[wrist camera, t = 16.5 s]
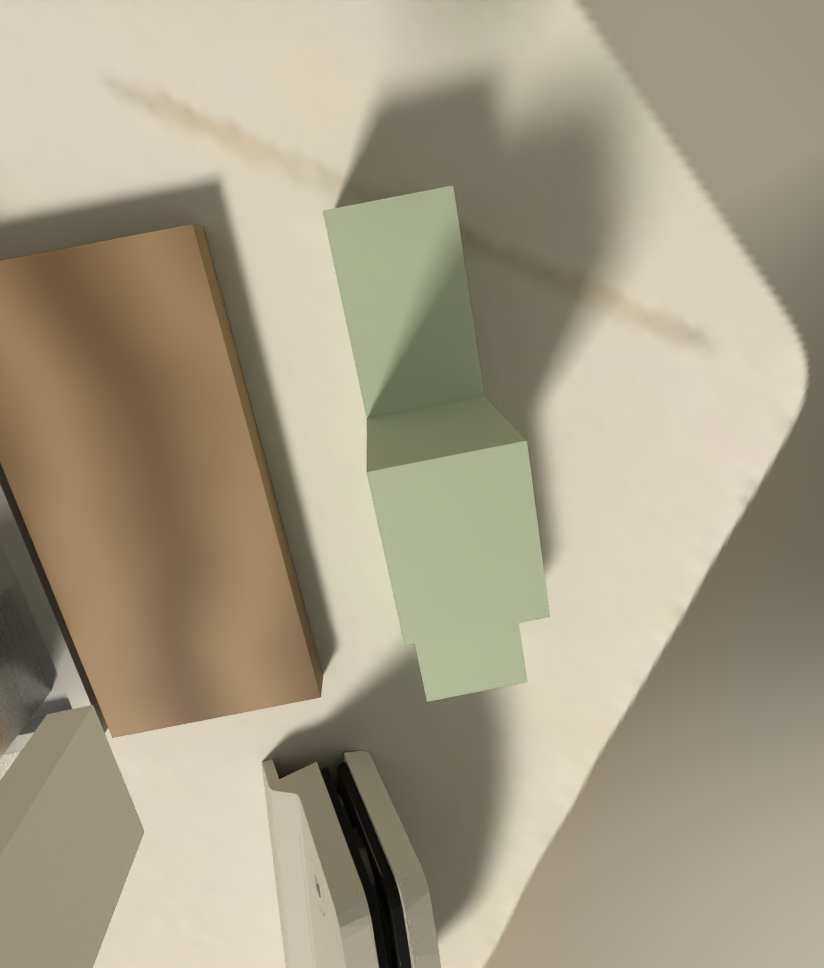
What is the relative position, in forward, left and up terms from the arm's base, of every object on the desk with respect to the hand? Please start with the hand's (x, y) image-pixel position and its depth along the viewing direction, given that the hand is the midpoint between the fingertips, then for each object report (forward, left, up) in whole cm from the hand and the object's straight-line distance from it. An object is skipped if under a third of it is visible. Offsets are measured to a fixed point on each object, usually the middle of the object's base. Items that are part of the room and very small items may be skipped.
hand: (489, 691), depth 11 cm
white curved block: (-7, -22, -16) cm, 28 cm away
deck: (-11, 0, -16) cm, 19 cm away
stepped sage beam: (0, 0, -16) cm, 16 cm away
